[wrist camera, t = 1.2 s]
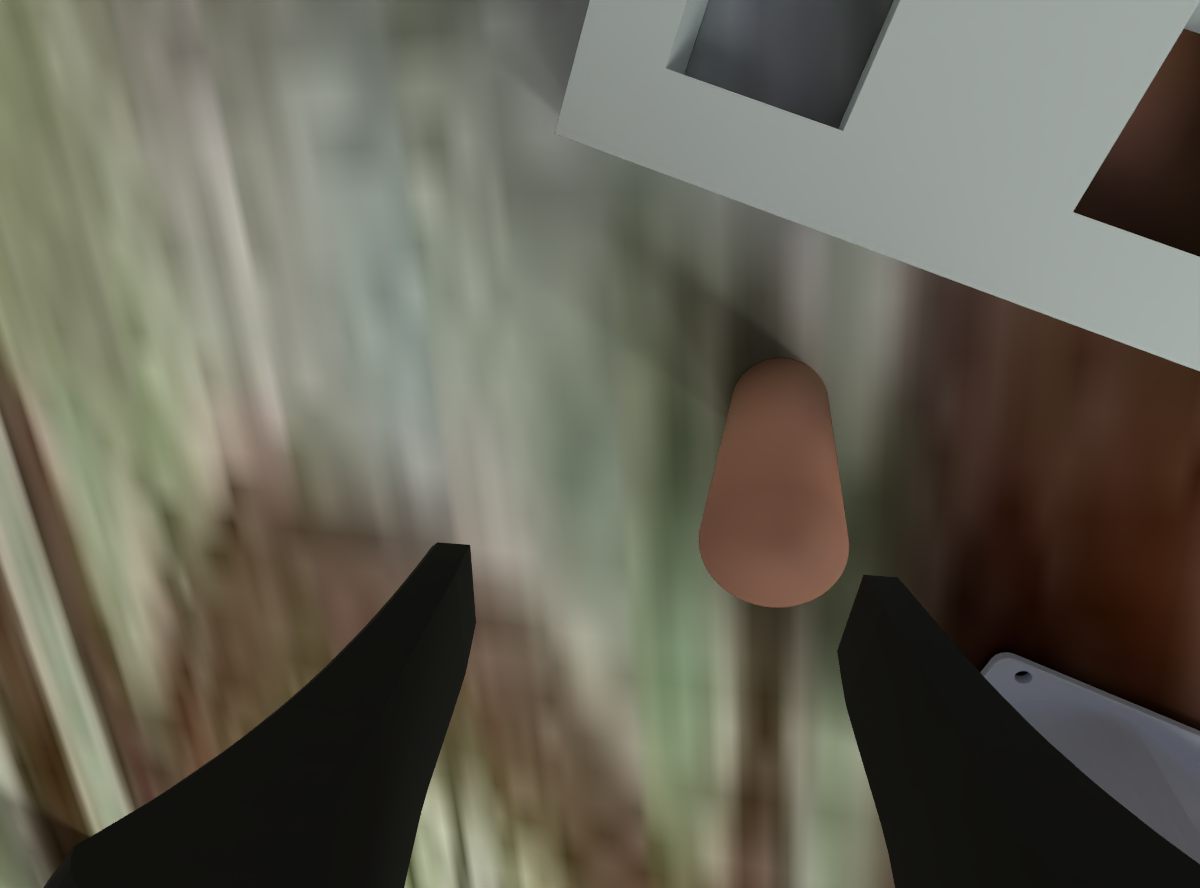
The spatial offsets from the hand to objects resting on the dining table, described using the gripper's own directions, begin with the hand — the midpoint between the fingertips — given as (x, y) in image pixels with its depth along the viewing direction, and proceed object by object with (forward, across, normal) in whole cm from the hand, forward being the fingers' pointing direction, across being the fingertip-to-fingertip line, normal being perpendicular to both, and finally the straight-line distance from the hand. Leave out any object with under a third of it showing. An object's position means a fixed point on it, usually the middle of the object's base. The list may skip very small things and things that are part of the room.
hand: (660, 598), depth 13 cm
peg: (+10, -4, +2) cm, 11 cm away
